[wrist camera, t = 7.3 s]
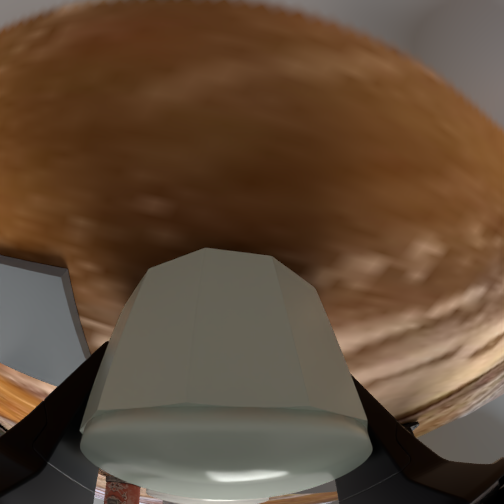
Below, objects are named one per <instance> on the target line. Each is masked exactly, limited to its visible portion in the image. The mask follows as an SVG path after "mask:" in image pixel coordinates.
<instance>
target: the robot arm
mask: <svg viewBox="0 0 504 504" xmlns="http://www.w3.org/2000/svg"><path fill="white" fill-rule="evenodd" d="M108 344H109V341H107V342H105V343H104V344H103V345H102V346H101V347H99V348H98V349H97V350H96V351H95V352H94V353H93V354H92V355H91V356H90V357H89V358H87V359H86V360H85V361H84V362H83V363H82V364H81V365H80V366H79V367H78V368H77V369H76V370H75V371H74V372H72V373H71V374H70V375H69V376H68V377H67V378H66V379H65V380H64V381H63V382H62V383H61V384H60V385H59V386H58V387H57V388H56V389H55V390H54V391H53V392H52V393H50V394H49V395H48V396H47V397H46V398H45V399H44V401H42V402H41V403H40V404H39V405H38V406H37V407H36V408H35V409H34V410H33V411H32V412H31V413H29V414H28V415H27V416H26V417H25V418H24V419H22V420H21V421H20V422H19V423H17V424H16V425H15V426H13V427H12V428H11V429H9V430H8V431H7V432H6V433H4V434H3V435H2V436H0V504H93V501H94V495H95V494H94V493H95V488H96V482H97V477H98V471H99V467H97V466H96V465H94V464H93V463H92V462H91V461H89V460H88V459H87V458H86V457H85V456H84V454H83V453H82V451H81V449H80V443H81V439H82V435H83V434H82V433H81V432H80V427H81V424H82V420H83V417H84V413H85V410H86V407H87V403H88V400H89V397H90V394H91V391H92V388H93V385H94V382H95V379H96V376H97V373H98V370H99V368H100V365H101V362H102V359H103V357H104V354H105V351H106V349H107V346H108ZM351 377H352V379H353V382H354V385H355V387H356V390H357V393H358V395H359V398H360V401H361V403H362V406H363V409H364V412H365V414H366V417H367V420H368V421H367V432H368V435H369V438H370V441H371V444H372V449H373V450H372V453H371V455H370V456H369V457H368V459H367V460H366V461H365V462H363V463H362V464H361V465H360V466H358V467H357V468H355V469H354V470H352V471H351V472H349V473H347V474H345V475H343V476H341V477H339V478H337V479H335V482H336V487H337V493H338V499H339V501H340V502H339V504H504V457H501V458H500V459H498V460H497V461H495V462H494V463H492V464H473V463H463V462H454V461H448V460H446V459H443V458H442V457H440V456H438V455H437V454H436V453H434V452H433V451H432V450H431V449H429V448H428V447H426V446H425V445H424V444H423V443H422V442H420V441H419V440H418V439H417V438H415V436H414V434H413V430H414V429H415V428H416V427H417V426H419V423H418V421H417V422H414V423H411V424H407V425H404V426H402V425H401V424H400V423H399V422H398V421H397V420H396V419H395V418H394V417H393V416H392V415H391V414H390V413H389V412H388V411H387V410H386V409H385V408H384V407H383V406H382V405H381V404H380V403H379V402H378V401H377V400H376V399H375V398H374V397H373V396H372V395H371V394H370V393H369V392H368V391H367V390H366V389H365V388H364V387H363V386H362V385H361V384H360V383H359V382H358V381H357V380H356V379H355V378H354V377H353V376H352V375H351Z"/></svg>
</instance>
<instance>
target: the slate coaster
mask: <svg viewBox="0 0 504 504" xmlns="http://www.w3.org/2000/svg"><path fill="white" fill-rule="evenodd" d="M90 356H91V354H90V351H89V348H88V345H87V342H86V339H85V336H84V333H83V330H82V326H81V323H80V319H79V316H78V312H77V308H76V304H75V300H74V296H73V292H72V287H71V283H70V278H69V273H68V269H66V268H60V267H55V266H50V265H45V264H40V263H35V262H30V261H25V260H20V259H16V258H11V257H7V256H2V255H0V363H2V364H4V365H6V366H8V367H10V368H12V369H15V370H17V371H19V372H21V373H24V374H26V375H28V376H31V377H33V378H36V379H38V380H41V381H43V382H46V383H49V384H51V385H54V386H57V387H58V386H59V385H60V384H61V383H62V382H63V381H64V380H65V379H66V378H67V377H68V376H69V375H70V374H71V373H72V372H74V371H75V370H76V369H77V368H78V367H79V366H80V365H81V364H82V363H83V362H84V361H85V360H86V359H87V358H89V357H90Z"/></svg>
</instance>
